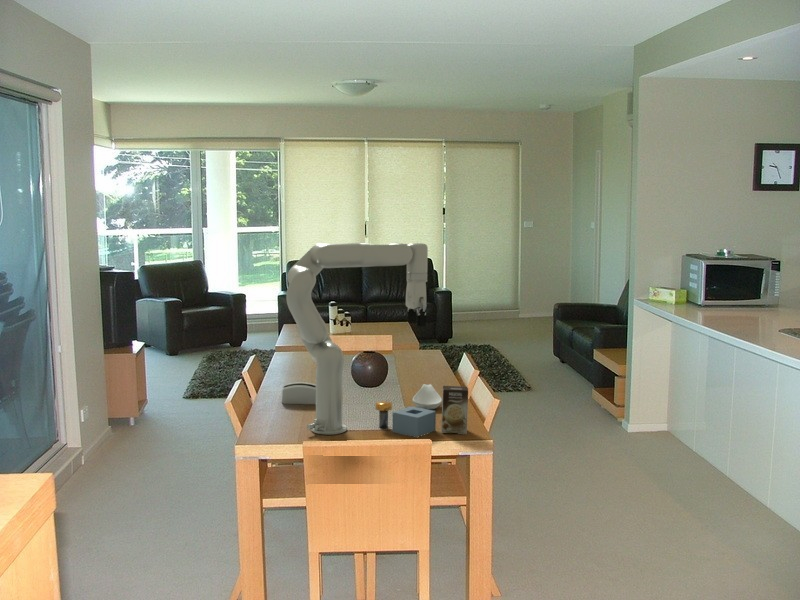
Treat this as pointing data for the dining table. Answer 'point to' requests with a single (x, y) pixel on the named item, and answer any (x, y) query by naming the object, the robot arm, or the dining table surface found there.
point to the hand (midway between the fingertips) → (416, 324)
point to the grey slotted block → (299, 393)
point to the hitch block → (414, 421)
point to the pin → (383, 413)
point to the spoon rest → (427, 398)
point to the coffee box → (454, 409)
